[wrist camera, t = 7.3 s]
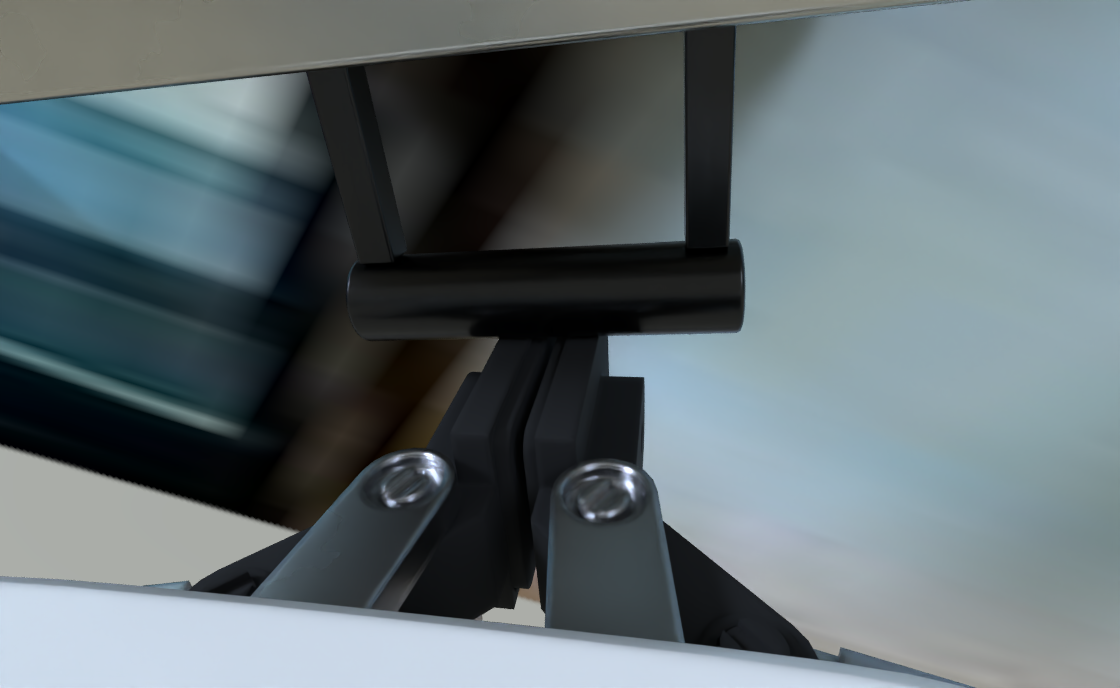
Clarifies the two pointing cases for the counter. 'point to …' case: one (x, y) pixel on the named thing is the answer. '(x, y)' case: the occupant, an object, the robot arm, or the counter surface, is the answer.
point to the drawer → (359, 160)
